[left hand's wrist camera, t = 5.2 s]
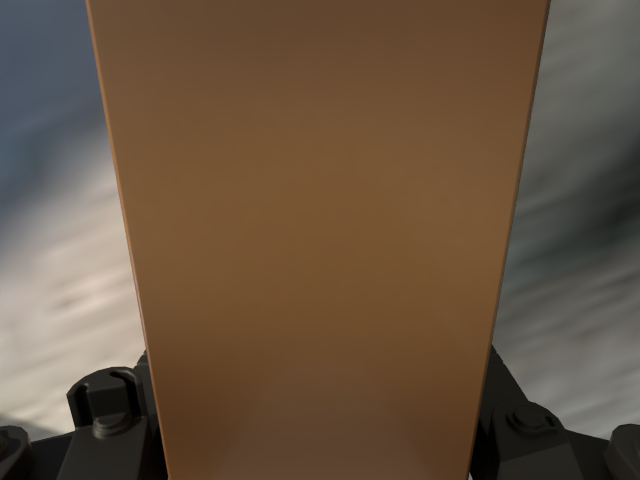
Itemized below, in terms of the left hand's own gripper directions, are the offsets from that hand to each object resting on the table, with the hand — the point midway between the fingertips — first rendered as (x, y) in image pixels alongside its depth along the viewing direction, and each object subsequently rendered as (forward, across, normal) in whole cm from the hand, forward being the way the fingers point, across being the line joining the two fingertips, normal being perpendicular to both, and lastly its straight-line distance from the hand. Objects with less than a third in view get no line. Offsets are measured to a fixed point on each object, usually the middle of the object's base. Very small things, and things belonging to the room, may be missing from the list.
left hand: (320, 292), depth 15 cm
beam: (+1, 0, -34) cm, 34 cm away
